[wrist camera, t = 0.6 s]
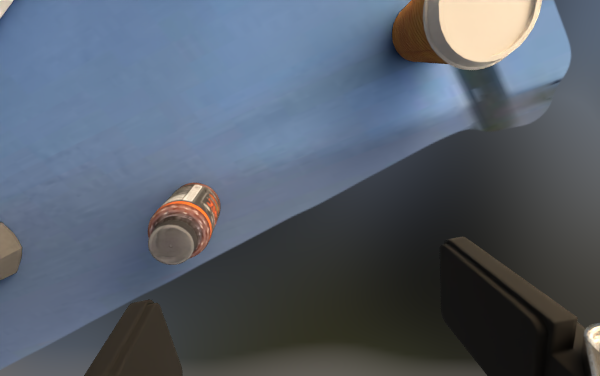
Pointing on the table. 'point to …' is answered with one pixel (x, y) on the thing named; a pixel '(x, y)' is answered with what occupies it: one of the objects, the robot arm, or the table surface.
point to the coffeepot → (9, 252)
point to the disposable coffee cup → (463, 30)
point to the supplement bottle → (183, 224)
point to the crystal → (4, 6)
